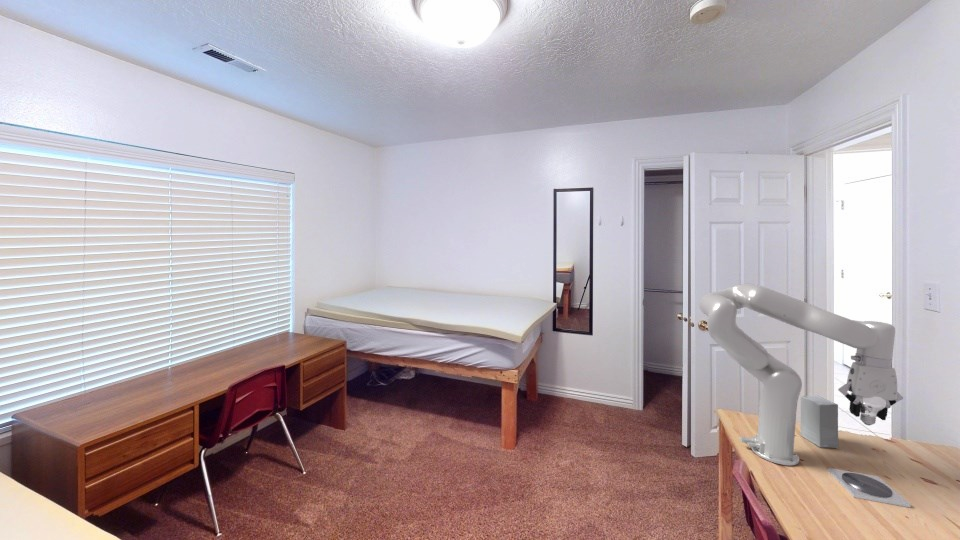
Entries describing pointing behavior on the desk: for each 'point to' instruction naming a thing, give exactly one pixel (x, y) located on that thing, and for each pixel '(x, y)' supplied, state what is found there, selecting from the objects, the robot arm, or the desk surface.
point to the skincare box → (819, 421)
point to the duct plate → (868, 487)
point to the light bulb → (870, 409)
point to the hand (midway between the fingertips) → (867, 415)
